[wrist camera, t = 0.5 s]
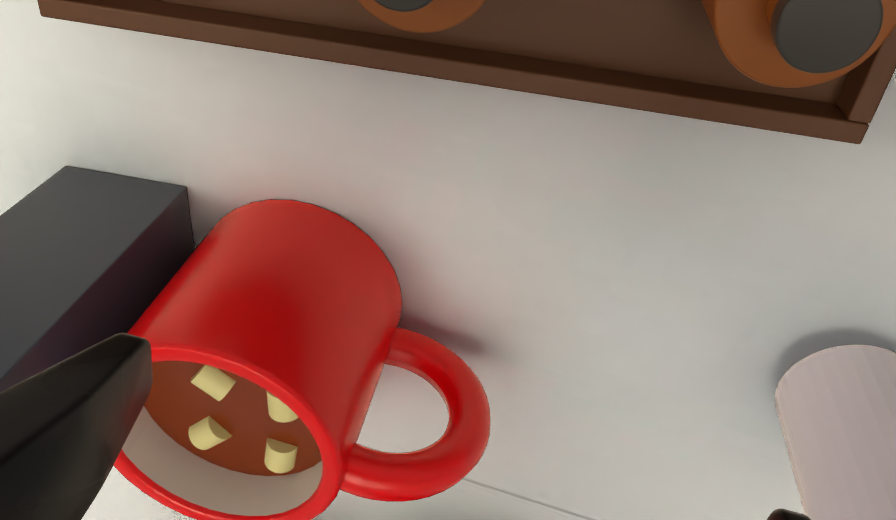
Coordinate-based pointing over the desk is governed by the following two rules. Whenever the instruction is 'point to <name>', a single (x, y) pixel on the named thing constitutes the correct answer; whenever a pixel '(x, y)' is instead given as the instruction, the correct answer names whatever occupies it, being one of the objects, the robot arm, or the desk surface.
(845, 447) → the perfume bottle
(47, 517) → the robot arm
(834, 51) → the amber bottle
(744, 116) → the tray
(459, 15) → the amber bottle middle
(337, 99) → the desk surface
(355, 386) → the mug
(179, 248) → the stand
